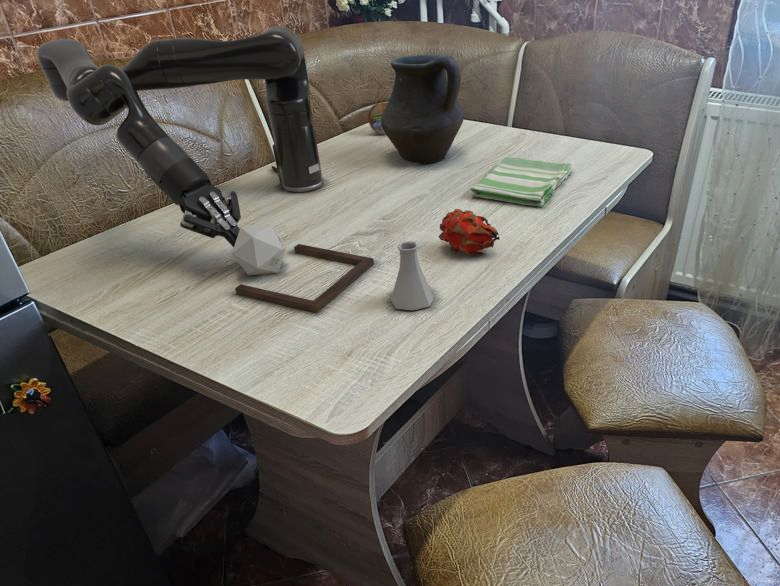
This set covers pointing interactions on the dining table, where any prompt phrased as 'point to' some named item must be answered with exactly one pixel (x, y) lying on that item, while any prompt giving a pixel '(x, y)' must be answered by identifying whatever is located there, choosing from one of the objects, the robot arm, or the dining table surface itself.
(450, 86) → the pitcher
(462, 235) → the dragon fruit
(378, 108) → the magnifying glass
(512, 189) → the dish towel
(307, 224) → the dining table surface
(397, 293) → the flask
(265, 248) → the die
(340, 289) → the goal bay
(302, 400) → the dining table surface
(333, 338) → the dining table surface
